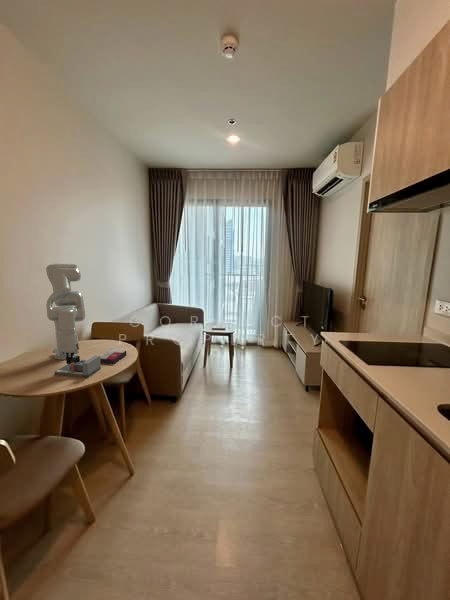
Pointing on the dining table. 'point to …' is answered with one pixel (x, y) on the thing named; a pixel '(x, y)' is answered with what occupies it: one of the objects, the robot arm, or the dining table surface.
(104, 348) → the dining table surface
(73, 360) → the plunger
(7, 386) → the dining table surface
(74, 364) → the drag pointer
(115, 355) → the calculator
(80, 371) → the gauge housing
